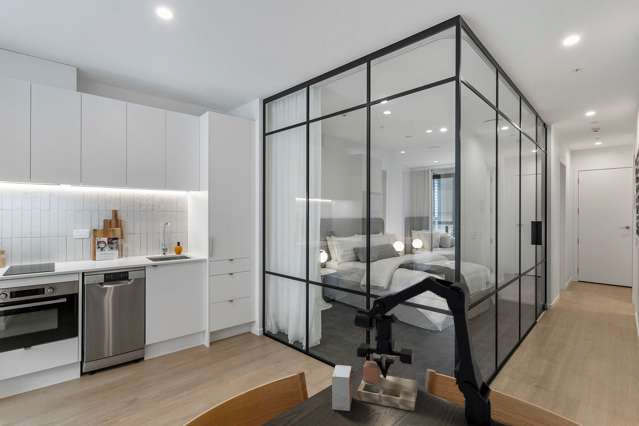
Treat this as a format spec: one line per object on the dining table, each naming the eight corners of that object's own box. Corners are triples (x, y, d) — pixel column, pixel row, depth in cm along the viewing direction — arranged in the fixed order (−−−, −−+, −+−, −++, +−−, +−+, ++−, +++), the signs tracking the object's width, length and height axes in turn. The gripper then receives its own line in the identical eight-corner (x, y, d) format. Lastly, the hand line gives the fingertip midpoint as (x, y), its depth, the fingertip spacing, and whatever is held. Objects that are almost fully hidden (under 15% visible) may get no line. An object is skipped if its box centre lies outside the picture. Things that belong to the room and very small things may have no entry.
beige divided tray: (417, 389, 112) (417, 380, 112) (414, 411, 99) (414, 401, 99) (366, 380, 118) (366, 372, 118) (357, 399, 106) (357, 390, 106)
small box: (349, 411, 100) (349, 377, 100) (332, 409, 101) (331, 376, 101) (352, 397, 107) (352, 365, 107) (335, 395, 109) (335, 364, 109)
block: (380, 376, 115) (380, 362, 115) (377, 383, 110) (377, 369, 110) (366, 374, 116) (366, 360, 116) (363, 381, 112) (362, 366, 112)
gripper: (414, 327, 116) (415, 371, 116) (363, 322, 123) (364, 363, 123) (411, 339, 105) (412, 386, 105) (355, 332, 112) (356, 377, 112)
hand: (385, 377), depth 112 cm, fingers closed
